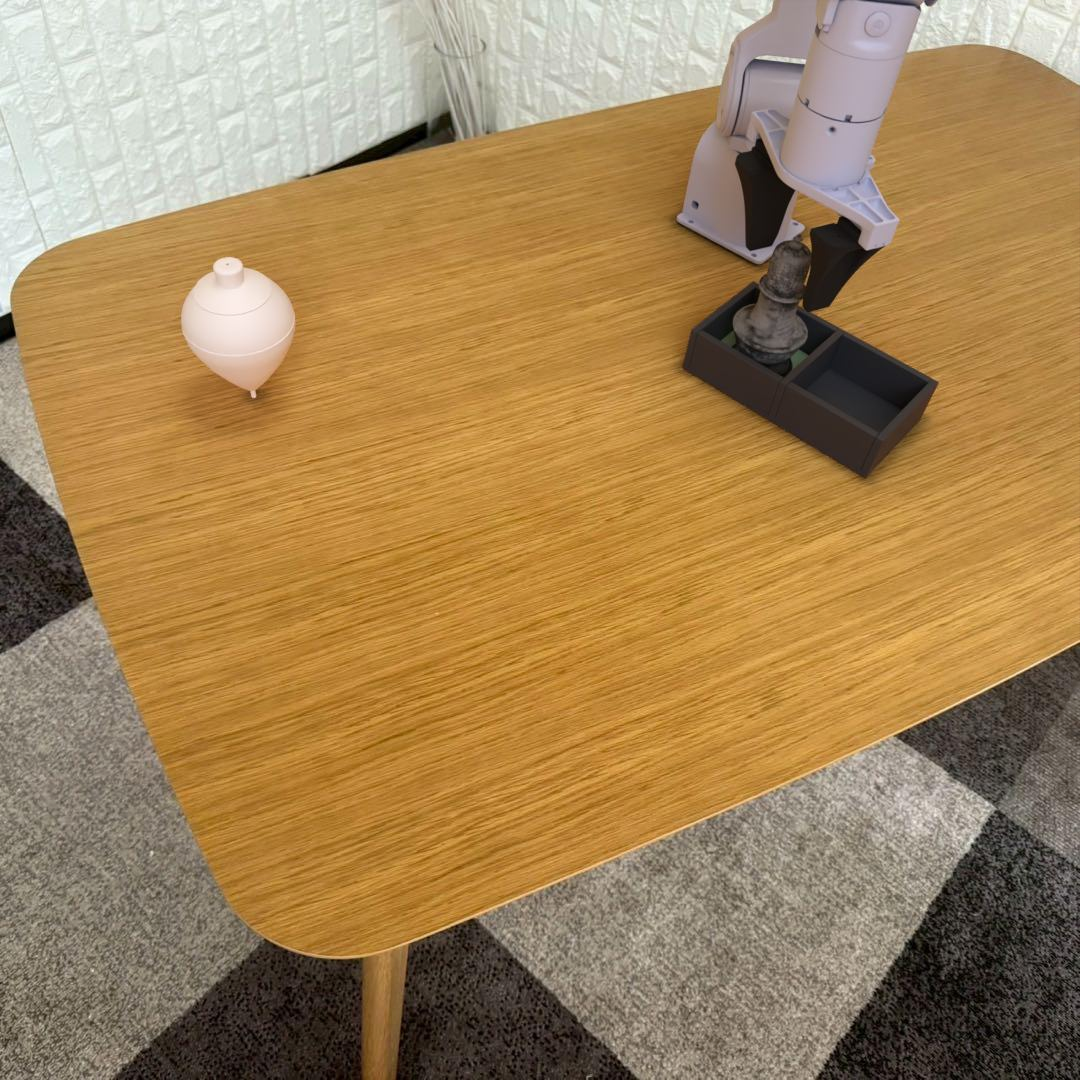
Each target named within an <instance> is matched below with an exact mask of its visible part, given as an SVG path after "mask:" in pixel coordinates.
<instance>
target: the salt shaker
mask: <svg viewBox="0 0 1080 1080" xmlns="http://www.w3.org/2000/svg"><path fill="white" fill-rule="evenodd" d="M803 241H804V239H803V237H802V235H801V234H798V235H796V236H795V237H793V240H787V241H783V242H781V243H780V244H778V245H777V246H776V247H775V249H774V251H773V254H772V256H771V257H770V262H769V264H768V268H767V271H766V273H765V274H764V275H762V276H761V277H760V279H759V280H758V284H759V288H760V290H761V291H760V295H759V298H758V302H757V303H756V304H750V305H748V306H745V307H743V308H741V309H740V310H739V311H737V313H736V314H735V316H734V318H733V328H734V334H735V339H736V343H735V344H734V345H733V346H731V347H732V348H734V349H735V350H737V351H739V352H741V353H742V354H744V355H746V356H748V357H749V358H751V359H753V360H754V361H756V362H758V363H760V364H761V365H763V366H765V367H767V368H768V369H770V370H772V371H773V372H775V373H777V374H779V375H780V376H782V377H783V378H784V377H785V376H786V375H788V374H789V373H790V372H791V371H792V365H793V364H792V361H791V358H790V357H792V356H793V355H794V354H795V353H796V352H797V350H798V349H799V348H800V347H801V346H802V345H804V343H805V341H806V340H807V335H808V330H807V327H806V325H805V323H804V322H803V320H802V319H801V318H800V317H799V316H798V315H797V314H796V311H797V308H798V305H799V306H800V302H801V301H803V295H804V291H805V287H806V284H805V283H806V281H807V278H808V275H809V272H810V266H811V255H812V252H811V248H809V246H808V245H806V244H805V243H803Z"/></svg>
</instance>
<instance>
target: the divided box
mask: <svg viewBox="0 0 1080 1080" xmlns="http://www.w3.org/2000/svg"><path fill="white" fill-rule="evenodd" d="M760 291H761V290H760V288H759V282H756V281H754V280H753V281H751V282H750V283H749V284H748V285H747V286H745V287H744V288H742V289H741V290H740V291H739V292H737V293H736V294H735V295H733V296H732V297H731V298H730V299H728V300H727V301H725V303H723V304H722V305H721V306H719V307H718V308H717V309H716V310H714V311H713V312H712V313H711V314H709V315H708V316H707V317H706V318H704V319H703V320H701V321H700V322H699V323H698V324H696V325H695V326H694V327H692V329H690V333H689V337H688V342H687V346H686V351H685V355H684V359H683V362H682V363H683V364H682V370H684V371H686V372H688V373H690V374H691V375H693V376H694V377H696V378H698V379H699V380H701V381H702V382H705V383H706V384H707V385H709V386H711V387H713V388H714V389H715V390H717V391H719V392H721V393H722V394H724V395H726V396H728V397H729V398H731V399H732V400H734V401H736V402H738V403H739V404H741V405H742V406H743V407H746V408H747V409H749V410H751V411H752V412H754V413H755V414H758V415H759V416H760V417H763V418H764V419H766V420H767V421H769V422H770V423H772V424H774V425H775V426H778V427H779V428H781V429H782V430H784V431H785V432H787V433H789V434H790V435H792V436H794V437H795V438H797V439H799V440H801V441H802V442H804V443H805V444H807V445H809V446H810V447H812V448H814V449H816V450H818V451H819V452H820V453H822V454H824V455H825V456H827V457H829V458H830V459H832V460H834V461H835V462H837V463H839V464H840V465H842V466H843V467H846V468H847V469H849V470H850V471H852V472H854V473H855V474H857V475H859V476H861V477H862V478H863V479H866V478H868V476H869V475H871V474H872V472H873V471H874V470H875V469H876V468H877V467H878V466H879V465H880V463H882V462H883V460H884V459H885V458H886V457H887V456H888V455H890V453H891V452H892V451H893V450H894V449H895V448H896V447H897V446H898V445H899V443H901V441H902V440H903V439H904V438H905V437H906V436H907V435H908V434H909V432H910V431H911V430H913V428H914V427H915V426H916V425H917V424H918V423H919V422H920V421H921V420H922V417H923V415H924V413H925V411H926V409H927V407H928V405H929V404H930V401H931V399H932V398H933V395H934V394H935V391H936V390H937V388H938V386H939V384H940V382H939V381H938V380H936V379H934V378H932V377H930V376H928V375H927V374H926V373H923V372H921V371H920V370H918V369H916V368H914V367H912V366H910V365H909V364H906V363H905V362H903V361H901V360H899V359H898V358H896V357H894V356H892V355H890V354H888V352H887V353H886V352H884V351H883V350H881V349H879V348H878V347H875V346H873V344H870V343H868V342H866V341H865V340H863V339H862V338H861V339H860V338H859V337H857V336H856V335H854V334H852V333H850V332H848V331H846V330H844V329H842V328H840V327H839V326H837V325H835V324H833V323H832V322H830V321H828V320H826V319H825V318H823V317H821V316H819V315H817V314H816V313H813V312H807V311H806V310H805V309H804V308H803V307H802V306H800V304H799V305H798V308H797V311H796V314H797V315H798V316H799V317H800V318H801V319H802V320H803V322H804V323H805V325H806V327H807V330H808V335H807V340H806V341H805V343H804V345H802V346H801V347H800V348H799V349H798V350H797V352H796V353H795V354H794V355H793V356H792V357H790V358H791V361H792V364H793V365H792V371H791V372H790V373H789V374H788V375H786V376H785V377H784V378H783V377H782V376H780V375H779V374H777V373H775V372H773V371H772V370H770V369H768V368H767V367H765V366H763V365H761V364H760V363H758V362H756V361H754V360H753V359H751V358H749V357H748V356H746V355H744V354H742V353H741V352H739V351H737V350H735V349H734V348H732V347H731V346H733V345H734V344H735V343H736V339H735V334H734V328H733V318H734V316H735V314H736V313H737V311H739V310H740V309H741V308H743V307H745V306H748V305H750V304H756V303H757V302H758V298H759V295H760Z"/></svg>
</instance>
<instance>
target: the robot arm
mask: <svg viewBox="0 0 1080 1080" xmlns="http://www.w3.org/2000/svg"><path fill="white" fill-rule="evenodd" d="M938 1H939V0H773V1H772V6H771V7H772V8H771V11H770V12H769V13H767V14H766V15H764V17H761V18H760V19H758V20H757V21H756V22H753V23H752V24H751V25H749V26H747V27H746V28H744V29H742V30H741V31H739V33H738V34H737V35H736V36H735V38H734V40H733V41H732V43H731V44H730V48H729V53H728V58H727V63H726V65H725V67H724V71H723V75H722V79H721V84H720V88H719V94H718V95H719V96H718V101H717V108H716V109H717V111H716V119H715V120H714V121H713V122H712V123H711V124H710V125H709V126H708V127H707V128H706V130H705V131H704V132H703V133H702V136H701V138H700V140H699V141H698V144H697V146H696V149H695V151H694V154H693V157H692V160H691V166H690V171H689V176H688V180H687V186H686V191H685V196H684V200H683V206H682V209H681V212H680V213H679V214H677V216H676V222H677V223H679V224H681V225H682V226H684V227H686V228H688V229H690V230H692V231H693V232H695V233H697V234H699V235H701V236H702V237H705V238H707V239H709V240H710V241H712V242H714V243H716V244H718V245H719V246H722V247H723V248H725V249H727V250H729V251H731V252H733V253H735V254H737V255H738V256H740V257H742V258H744V259H745V260H748V261H749V262H751V263H754V264H755V265H762V264H764V263H765V262H766V261H767V260H769V259H771V258H772V254H773V251H774V249H775V247H776V246H777V245H778V244H780V243H781V242H783V241H787V240H793V237H795V236H796V235H798V234H800V235H801V234H803V233H804V231H805V229H806V226H805V225H804V224H803V223H801V222H799V221H797V220H795V219H793V218H792V216H793V213H794V209H795V206H796V203H797V199H798V197H799V193H800V194H802V195H804V196H805V197H807V198H808V199H809V198H810V199H811V200H813V201H815V202H817V203H818V204H820V205H822V206H824V207H826V208H828V209H830V210H831V211H833V212H835V213H836V214H837V216H838V220H837V221H836V223H835V222H832V223H828V224H827V223H826V224H824V225H819V226H815V227H811V228H810V230H809V233H808V234H809V238H810V245H811V247H810V251H811V253H812V255H811V265H810V268H809V271H808V276H807V279H806V284H805V286H806V287H805V291H804V295H803V299H802V306H801V307H802V308H804V309H805V310H806V311H807V312H811V313H813V312H816V311H819V310H822V309H826V308H827V309H828V308H829V307H831V305H832V304H833V302H834V301H835V299H836V298H837V297H838V295H839V293H840V292H841V291H842V290H843V288H844V287H845V285H846V284H847V283H848V281H849V280H850V279H851V278H852V277H853V276H854V275H855V273H856V272H858V270H859V269H860V268H861V267H862V266H863V265H864V264H865V263H867V262H868V261H869V260H870V259H871V258H872V257H874V256H875V255H876V254H877V253H878V252H880V251H881V250H882V249H883V248H885V247H886V246H889V245H891V244H892V241H893V238H894V236H895V233H896V230H897V228H898V226H899V223H900V220H901V219H900V218H899V217H898V216H897V215H896V214H895V213H894V212H893V211H892V209H890V207H889V206H888V204H887V202H886V200H885V198H884V197H883V195H882V193H881V191H880V189H879V187H878V186H877V184H876V182H875V180H874V177H873V176H872V174H871V172H870V171H871V170H872V169H874V166H875V163H876V158H875V156H874V155H873V154H872V151H873V149H874V146H875V144H876V141H877V137H878V134H879V132H880V129H881V127H882V123H883V120H884V118H885V115H886V112H887V110H888V107H889V104H890V101H891V98H892V96H893V92H894V91H895V87H896V84H897V81H898V78H899V77H900V76H899V75H900V74H901V71H902V68H903V64H904V62H905V59H906V56H907V53H908V50H909V47H910V45H911V42H912V39H913V37H914V33H915V30H916V27H917V25H918V22H919V19H920V16H921V13H922V7H921V5H922V4H923V3H924V5H925V6H926V7H928V8H929V7H930V8H931V7H933V6H934V5H935V4H936V3H937V2H938ZM764 56H765V57H766V56H769V57H777V58H787V59H789V58H790V59H797V60H805V63H797V62H789V61H778V60H772V59H761V58H759V57H764Z"/></svg>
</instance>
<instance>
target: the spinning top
mask: <svg viewBox="0 0 1080 1080" xmlns="http://www.w3.org/2000/svg"><path fill="white" fill-rule="evenodd" d="M212 269H213V271H210V272H209V273H207V274H205V275H204V276H202V277H201V278H199V280H198V281H197V282H196V284H195V285H194V286H193V287H192V289H191V290H190V291H189V293H188V295H186V298H185V300H184V302H183V305H182V308H181V314H180V324H181V325H180V327H181V331H182V334H183V337H184V339H185V342H186V343H187V345H188V348H189V349H190V350H191V352H192V353H193V354H194V355H195V356H196V357H197V359H199V360H200V361H201V362H202V363H203V364H204V365H205V366H206V367H207V368H208V369H210V370H211V371H212V372H213V373H214V374H216V375H218V377H221V378H223V379H224V380H226V381H227V382H229V383H231V384H233V386H237V387H238V388H240V389H243V390H246V391H249V392H250V396H251V398H252V399H256V398H257V392H256V391H257V390H258V389H259V388H261V387H262V386H263V385H264V384H265V383H266V382H267V381H268V380H269V379H270V378H271V377H272V375H273V374H274V373H275V372H276V371H277V369H278V368H279V367H280V365H281V364H282V363H283V362H284V359H285V358H286V355H287V354H288V351H289V350H290V347H291V345H292V342H293V339H294V337H295V333H296V314H295V310H294V307H293V304H292V302H291V300H290V298H289V297H288V295H287V293H286V292H285V291H284V290H283V289H282V287H281V286H280V285H278V284H277V283H276V282H275V281H273V280H272V279H271V278H269V277H267V276H266V275H265V274H263V273H261V271H258V270H256V269H253V268H250V267H244V264H243V262H242V260H240V259H238V258H237V257H234V256H226V257H221V258H219V259H217V260H216V261H215V262H214V263H213V265H212Z"/></svg>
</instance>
